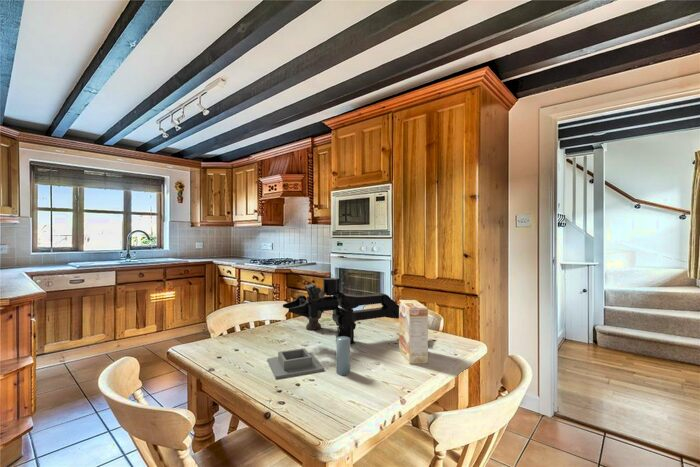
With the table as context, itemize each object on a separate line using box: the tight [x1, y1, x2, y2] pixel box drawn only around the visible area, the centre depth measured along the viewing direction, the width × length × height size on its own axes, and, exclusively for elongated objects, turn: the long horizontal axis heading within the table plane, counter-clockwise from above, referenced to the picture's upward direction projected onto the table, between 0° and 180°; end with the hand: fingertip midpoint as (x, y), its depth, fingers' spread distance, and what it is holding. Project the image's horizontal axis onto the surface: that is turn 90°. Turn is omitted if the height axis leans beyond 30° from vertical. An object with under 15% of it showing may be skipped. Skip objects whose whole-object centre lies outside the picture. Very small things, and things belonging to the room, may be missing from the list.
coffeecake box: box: [398, 299, 429, 365], centre depth 120 cm, size 15×7×20 cm, turn 5°
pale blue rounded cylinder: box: [335, 336, 351, 376], centre depth 105 cm, size 4×4×11 cm
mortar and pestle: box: [305, 287, 326, 331], centre depth 155 cm, size 12×9×20 cm
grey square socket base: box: [266, 347, 325, 380], centre depth 110 cm, size 16×16×4 cm
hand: (285, 308), depth 125 cm, fingers open, 9 cm apart
